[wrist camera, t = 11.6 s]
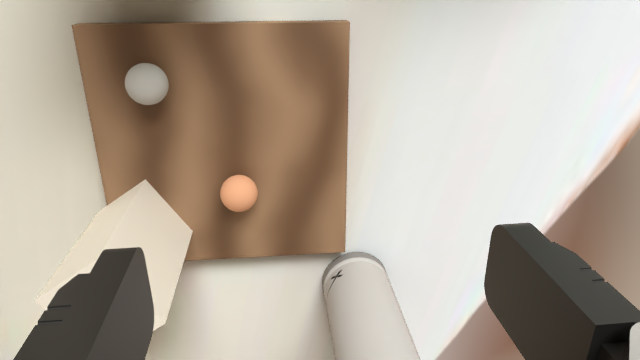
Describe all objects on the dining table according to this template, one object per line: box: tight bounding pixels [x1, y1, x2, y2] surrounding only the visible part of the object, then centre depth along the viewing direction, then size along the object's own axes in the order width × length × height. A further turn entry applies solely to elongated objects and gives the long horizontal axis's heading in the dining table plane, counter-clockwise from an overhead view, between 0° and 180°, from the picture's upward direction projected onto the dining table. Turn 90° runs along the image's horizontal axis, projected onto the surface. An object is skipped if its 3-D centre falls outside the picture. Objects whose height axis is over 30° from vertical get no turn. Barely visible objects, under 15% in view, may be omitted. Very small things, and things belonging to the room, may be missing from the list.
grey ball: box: [125, 63, 169, 105], centre depth 35 cm, size 3×3×3 cm
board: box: [72, 20, 350, 261], centre depth 40 cm, size 20×20×2 cm
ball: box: [220, 175, 258, 212], centre depth 39 cm, size 3×3×3 cm
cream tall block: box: [34, 179, 193, 331], centre depth 35 cm, size 5×6×12 cm
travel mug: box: [322, 252, 420, 360], centre depth 38 cm, size 6×7×20 cm
